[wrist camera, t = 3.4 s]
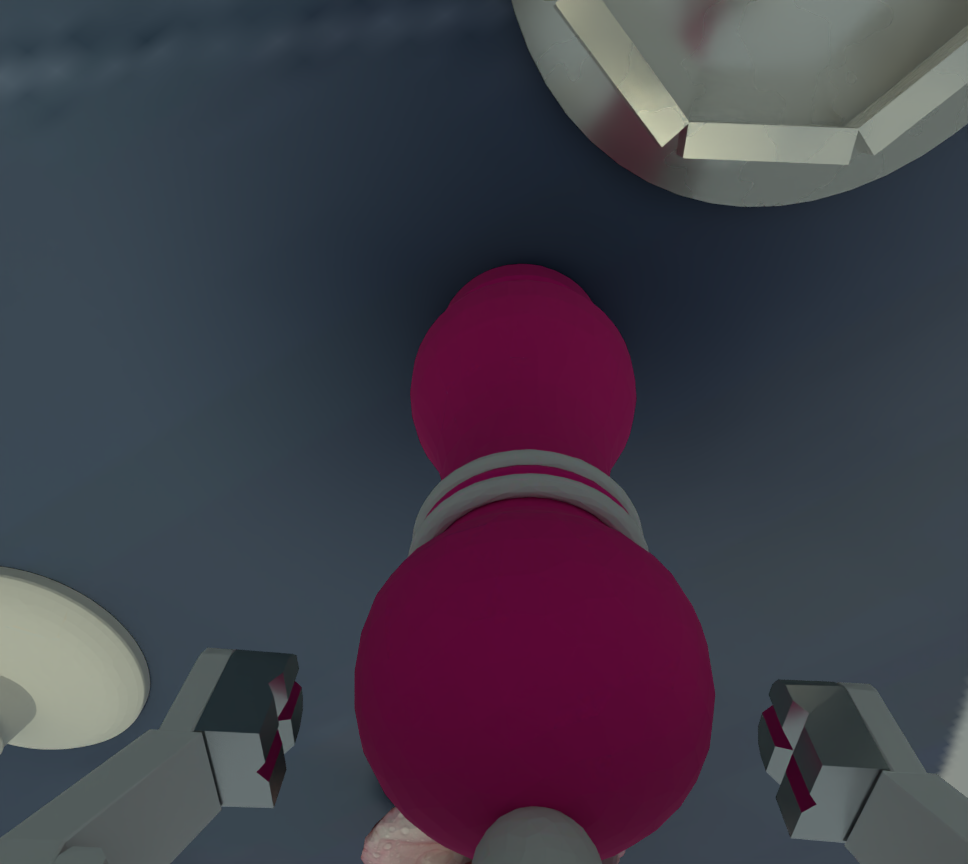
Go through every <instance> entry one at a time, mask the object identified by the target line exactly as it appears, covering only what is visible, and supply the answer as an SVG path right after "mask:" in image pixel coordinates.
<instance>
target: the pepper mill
mask: <svg viewBox="0 0 968 864" xmlns="http://www.w3.org/2000/svg"><path fill="white" fill-rule="evenodd" d="M410 397H411V408H412V418H413V421H414V424H415V427H416V431H417V434H418V437H419V441H420V443H421V445H422V447H423V449H424V451H425V453H426V455H427V457H428V458H429V459H430V461H431V462H432V463H433V465H434V466H435V467H436V469H437V470H438V471H439V473H440V476H441V480H442V481H441V482H440V483H439V484H438V485H437V486H436V487H435V488H434V489H433V490H432V492H431V493H430V494H429V496H428V497H427V498H426V500H425V502H424V503H423V505H422V507H421V509H420V511H419V513H418V516H417V518H416V522H415V526H414V529H413V539H412V543H411V546H410V550H409V554H408V558H407V559H406V560H405V561H404V562H403V563H402V564H401V565H400V566H399V567H398V568H397V569H396V571H395V572H394V573H393V574H392V575H391V576H390V577H389V579H388V580H387V581H386V583H385V584H384V586H383V587H382V588H381V590H380V591H379V592H378V594H377V595H376V597H375V600H374V602H373V605H372V607H371V610H370V612H369V615H368V617H367V620H366V622H365V625H364V627H363V630H362V633H361V638H360V644H359V650H358V655H357V661H356V667H355V712H356V718H357V723H358V729H359V734H360V739H361V743H362V747H363V752H364V754H365V756H366V758H367V760H368V762H369V764H370V766H371V768H372V770H373V772H374V774H375V776H376V778H377V779H378V781H379V783H380V785H381V787H382V789H383V791H384V793H385V795H386V796H387V797H388V798H389V799H390V800H391V802H392V803H393V804H394V805H395V806H396V808H397V809H398V810H399V811H400V812H401V814H402V815H403V816H404V817H405V818H406V819H407V820H408V821H409V822H411V823H412V824H413V825H414V826H416V827H417V828H418V829H419V830H421V831H422V832H423V833H424V834H426V835H427V836H428V837H430V838H431V839H433V840H434V841H436V842H438V843H439V844H441V845H442V846H444V847H446V848H448V849H450V850H452V851H454V852H456V853H459V854H461V855H463V856H465V857H468V858H470V859H472V864H602V861H601V860H604V859H607V858H610V857H613V856H615V855H617V854H619V853H620V852H622V851H624V850H626V849H627V848H629V847H631V846H632V845H634V844H636V843H637V842H639V841H640V840H642V839H643V838H645V837H647V836H648V835H650V834H651V833H653V832H654V831H656V830H657V829H658V828H659V827H660V826H661V825H662V824H663V823H664V822H665V821H666V820H667V819H668V818H669V817H670V816H671V815H672V814H673V813H674V812H675V811H676V810H677V809H678V808H679V807H680V806H681V805H682V803H683V802H684V800H685V798H686V797H687V795H688V794H689V792H690V791H691V789H692V787H693V786H694V784H695V783H696V781H697V779H698V776H699V773H700V771H701V768H702V766H703V763H704V761H705V758H706V756H707V753H708V751H709V748H710V739H711V730H712V721H713V712H714V701H715V690H714V684H713V677H712V671H711V665H710V659H709V653H708V646H707V642H706V639H705V636H704V633H703V630H702V627H701V624H700V622H699V619H698V617H697V615H696V613H695V611H694V608H693V606H692V604H691V603H690V601H689V600H688V598H687V597H686V595H685V594H684V592H683V591H682V589H681V588H680V586H679V584H678V583H677V581H676V580H675V578H674V577H673V575H672V574H671V573H670V572H669V571H668V570H667V569H666V568H665V567H664V566H663V565H662V564H661V563H660V562H659V561H658V560H657V559H656V558H655V557H654V556H653V555H652V554H651V553H649V551H648V547H647V544H646V542H645V539H644V537H643V531H642V527H641V523H640V519H639V516H638V514H637V511H636V509H635V507H634V506H633V504H632V502H631V500H630V499H629V497H628V496H627V494H626V493H625V491H624V490H623V489H622V488H621V487H620V486H619V485H618V484H617V483H616V482H615V481H614V480H613V479H611V478H610V472H611V469H612V467H613V465H614V464H615V462H616V461H617V459H618V458H619V456H620V454H621V453H622V451H623V449H624V448H625V445H626V443H627V440H628V438H629V435H630V432H631V427H632V422H633V417H634V411H635V405H636V387H635V377H634V372H633V367H632V362H631V358H630V355H629V352H628V349H627V346H626V344H625V341H624V339H623V338H622V336H621V334H620V333H619V331H618V329H617V327H616V326H615V325H614V324H613V323H612V321H611V320H610V319H609V318H608V317H607V315H606V314H605V313H604V312H603V311H602V310H601V309H600V308H598V307H597V306H596V305H594V304H593V302H592V301H591V299H590V298H589V296H588V295H587V294H586V293H585V291H584V290H583V289H582V288H581V287H580V286H579V285H578V284H576V283H575V282H574V281H573V280H572V279H570V278H568V277H566V276H565V275H563V274H561V273H559V272H557V271H555V270H552V269H549V268H546V267H543V266H539V265H533V264H513V265H505V266H501V267H497V268H493V269H491V270H488V271H486V272H484V273H482V274H480V275H478V276H477V277H475V278H474V279H472V280H471V281H470V282H468V283H467V284H466V285H465V286H464V287H463V288H462V289H461V290H460V291H459V292H458V293H457V294H456V295H455V297H454V298H453V299H452V300H451V302H450V304H449V306H448V307H447V309H446V311H445V312H444V313H443V314H441V315H440V316H439V317H438V319H437V320H436V321H435V322H434V324H433V325H432V326H431V327H430V329H429V330H428V332H427V334H426V335H425V337H424V339H423V341H422V343H421V344H420V347H419V350H418V353H417V356H416V359H415V363H414V369H413V375H412V383H411V391H410Z"/></svg>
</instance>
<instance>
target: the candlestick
mask: <svg viewBox="0 0 968 864" xmlns="http://www.w3.org/2000/svg"><path fill="white" fill-rule="evenodd" d="M149 690H150V676H149V670H148V666H147V663H146V660H145V658H144V655H143V653H142V651H141V650H140V648H139V646H138V645H137V643H136V642H135V640H134V639H133V637H132V636H131V635H130V634H129V632H128V631H127V630H126V629H125V628H124V627H123V626H122V625H121V624H120V623H119V622H118V621H117V620H116V619H115V618H114V617H113V616H112V615H111V614H110V613H108V612H107V611H106V610H105V609H103V608H102V607H101V606H99V605H98V604H96V603H95V602H94V601H92V600H91V599H89V598H87V597H86V596H84V595H82V594H81V593H79V592H77V591H75V590H73V589H71V588H69V587H67V586H65V585H63V584H61V583H59V582H56V581H54V580H51V579H49V578H46V577H43V576H40V575H37V574H34V573H30V572H27V571H22V570H18V569H13V568H7V567H0V754H1V753H2V751H3V748H4V746H5V745H6V744H11V745H15V746H20V747H26V748H34V749H70V748H77V747H83V746H89V745H93V744H96V743H100V742H103V741H106V740H108V739H111V738H113V737H115V736H117V735H119V734H120V733H122V732H123V731H124V730H126V729H127V728H128V727H129V726H130V725H131V724H132V723H133V722H134V721H135V720H136V718H137V717H138V716H139V714H140V712H141V710H142V709H143V707H144V705H145V703H146V701H147V698H148V695H149Z"/></svg>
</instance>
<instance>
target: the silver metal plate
mask: <svg viewBox="0 0 968 864" xmlns="http://www.w3.org/2000/svg"><path fill="white" fill-rule="evenodd" d="M511 2H512V6H513V10H514V13H515V16H516V19H517V21H518V24H519V27H520V30H521V32H522V35H523V38H524V41H525V43H526V46H527V49H528V51H529V53H530V55H531V57H532V59H533V61H534V63H535V65H536V67H537V69H538V71H539V73H540V75H541V77H542V78H543V80H544V82H545V84H546V86H547V87H548V89H549V90H550V92H551V93H552V94H553V96H554V97H555V99H556V100H557V102H558V103H559V105H560V106H561V108H562V109H563V110H564V112H565V113H566V115H567V116H568V117H569V118H570V119H571V120H572V121H573V122H574V123H575V125H576V126H577V127H578V128H579V129H580V130H581V131H582V132H583V133H584V134H585V136H586V137H587V138H588V139H589V140H590V141H591V142H592V143H594V144H595V145H596V146H597V147H598V148H600V149H601V150H602V151H603V152H605V153H606V154H607V155H608V156H609V157H611V158H612V159H613V160H614V161H615V162H617V163H618V164H619V165H621V166H622V167H624V168H626V169H627V170H629V171H631V172H632V173H634V174H635V175H637V176H639V177H640V178H642V179H644V180H645V181H647V182H649V183H651V184H654V185H656V186H658V187H661V188H663V189H666V190H668V191H670V192H673V193H675V194H677V195H681V196H685V197H688V198H692V199H696V200H700V201H704V202H708V203H713V204H722V205H731V206H740V207H762V206H782V205H789V204H795V203H802V202H808V201H814V200H818V199H821V198H825V197H828V196H832V195H835V194H839V193H842V192H846V191H849V190H852V189H854V188H857V187H859V186H862V185H864V184H867V183H869V182H871V181H874V180H876V179H879V178H881V177H883V176H886V175H888V174H890V173H892V172H893V171H895V170H897V169H899V168H901V167H903V166H904V165H906V164H908V163H910V162H912V161H914V160H915V159H917V158H919V157H921V156H923V155H924V154H926V153H927V152H929V151H930V150H931V149H933V148H934V147H936V146H937V145H939V144H940V143H942V142H943V141H945V140H946V139H948V138H949V137H950V136H952V135H953V134H955V133H956V132H958V131H959V130H960V129H961V128H963V127H964V126H965V125H966V124H967V123H968V0H511Z"/></svg>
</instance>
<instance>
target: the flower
mask: <svg viewBox="0 0 968 864" xmlns="http://www.w3.org/2000/svg"><path fill="white" fill-rule="evenodd" d="M624 854H625V850H624V851H622V852H620V853H619V854H617V855H615V856H613V857H610V858H607V859H604V860H601V861H602V864H618V862H619V858H620V857H622V856H623V855H624ZM361 859H362V861H363V863H364V864H472V859H470V858H468V857H465V856H463V855H461V854H459V853H456V852H454V851H452V850H450V849H448V848H446V847H444V846H442V845H441V844H439V843H438V842H436V841H434V840H433V839H431V838H430V837H428V836H427V835H426V834H424V833H423V832H422V831H421V830H419V829H418V828H417V827H416V826H414V825H413V824H412V823H411V822H409V821H408V820H407V819H406V818H405V817H404V816H403V815H402V814H401V812H400V811H399V810H398V809H397V808H396V807H394V808H392V809H391V810H390V811H389V812H388V813H387V814H386V815H385V816H384V817H383V818H382V819H381V820H380V821H378V822H377V823H376V824H375V826H374V827H373V829H372V830H371V832H370V833H369V834H368V835H367V837H366V838H365V843H364V848H363V852H362V856H361Z"/></svg>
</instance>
